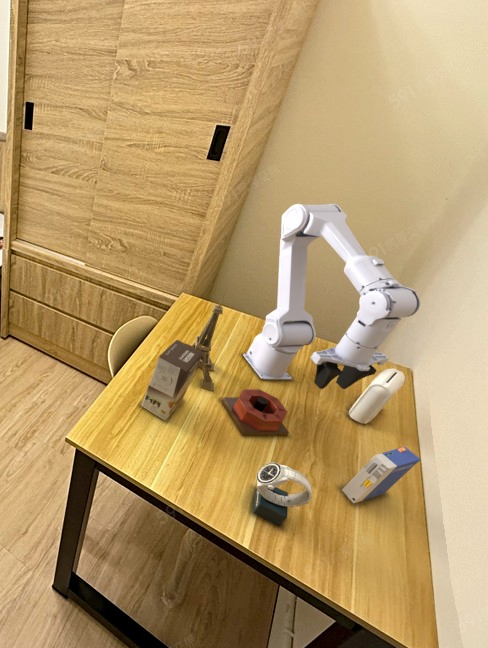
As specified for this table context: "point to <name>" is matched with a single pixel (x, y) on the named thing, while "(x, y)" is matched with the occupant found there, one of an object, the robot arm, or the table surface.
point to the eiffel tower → (207, 347)
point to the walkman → (380, 474)
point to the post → (248, 429)
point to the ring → (255, 417)
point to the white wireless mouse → (377, 395)
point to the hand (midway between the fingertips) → (329, 385)
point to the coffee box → (171, 378)
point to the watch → (278, 492)
